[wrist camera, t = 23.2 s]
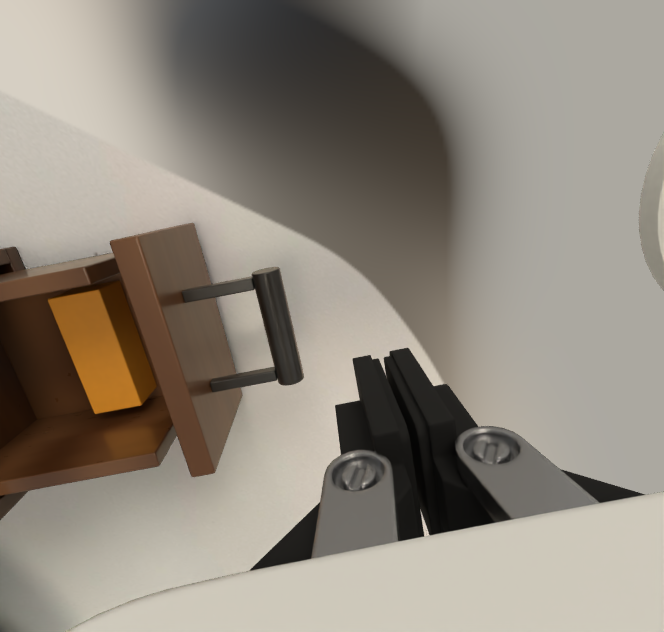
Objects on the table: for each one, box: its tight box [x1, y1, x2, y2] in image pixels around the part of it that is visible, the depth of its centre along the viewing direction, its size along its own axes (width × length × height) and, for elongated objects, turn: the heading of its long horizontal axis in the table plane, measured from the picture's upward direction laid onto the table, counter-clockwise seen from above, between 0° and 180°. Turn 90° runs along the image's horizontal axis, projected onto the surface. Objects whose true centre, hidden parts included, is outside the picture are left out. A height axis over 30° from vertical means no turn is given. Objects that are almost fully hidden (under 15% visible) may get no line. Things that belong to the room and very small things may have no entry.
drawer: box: [0, 223, 304, 496], centre depth 21 cm, size 18×12×8 cm, turn 100°
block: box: [48, 281, 157, 414], centre depth 23 cm, size 7×3×2 cm, turn 10°
